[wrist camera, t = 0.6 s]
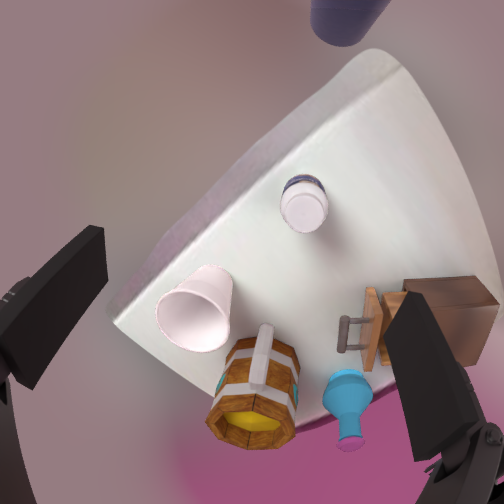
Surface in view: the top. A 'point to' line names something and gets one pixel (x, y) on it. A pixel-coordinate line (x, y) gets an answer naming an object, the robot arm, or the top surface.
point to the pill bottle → (304, 203)
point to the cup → (197, 310)
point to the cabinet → (459, 312)
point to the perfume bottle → (348, 406)
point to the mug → (257, 394)
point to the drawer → (371, 327)
